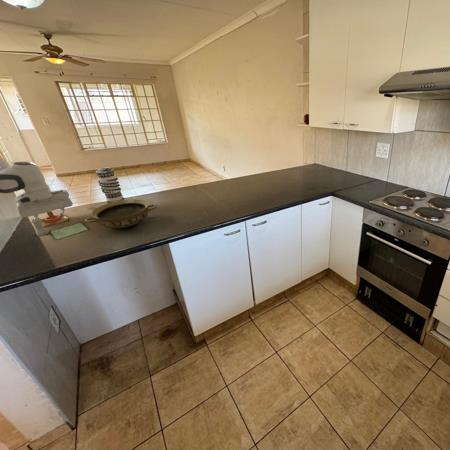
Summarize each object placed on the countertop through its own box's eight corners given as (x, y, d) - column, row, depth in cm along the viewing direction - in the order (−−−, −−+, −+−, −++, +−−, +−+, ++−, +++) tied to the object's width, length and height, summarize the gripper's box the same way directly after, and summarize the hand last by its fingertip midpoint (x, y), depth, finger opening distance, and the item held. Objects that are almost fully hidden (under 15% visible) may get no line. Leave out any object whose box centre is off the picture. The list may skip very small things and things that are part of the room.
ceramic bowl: (91, 244, 110) (81, 225, 105) (91, 225, 127) (83, 207, 122) (164, 225, 126) (159, 208, 121) (155, 210, 143) (151, 194, 138)
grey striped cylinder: (129, 206, 149) (115, 165, 137) (127, 211, 142) (112, 168, 130) (111, 208, 145) (95, 166, 134) (108, 214, 138) (91, 170, 126)
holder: (43, 228, 124) (38, 217, 122) (39, 222, 130) (34, 212, 127) (68, 221, 131) (64, 211, 129) (63, 216, 137) (59, 206, 134)
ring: (46, 223, 126) (44, 221, 125) (43, 220, 129) (41, 217, 129) (63, 219, 130) (62, 216, 130) (59, 215, 134) (58, 213, 134)
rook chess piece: (46, 231, 121) (38, 216, 118) (51, 233, 120) (43, 218, 116) (35, 235, 118) (26, 220, 114) (39, 237, 116) (30, 222, 112)
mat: (57, 240, 114) (56, 239, 113) (50, 232, 120) (50, 231, 120) (88, 230, 122) (88, 229, 122) (81, 223, 129) (80, 222, 128)
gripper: (64, 187, 132) (75, 211, 139) (10, 198, 118) (25, 224, 124) (68, 190, 129) (79, 213, 135) (12, 201, 115) (27, 227, 121)
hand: (52, 219), depth 130 cm, fingers closed on ring, 7 cm apart
